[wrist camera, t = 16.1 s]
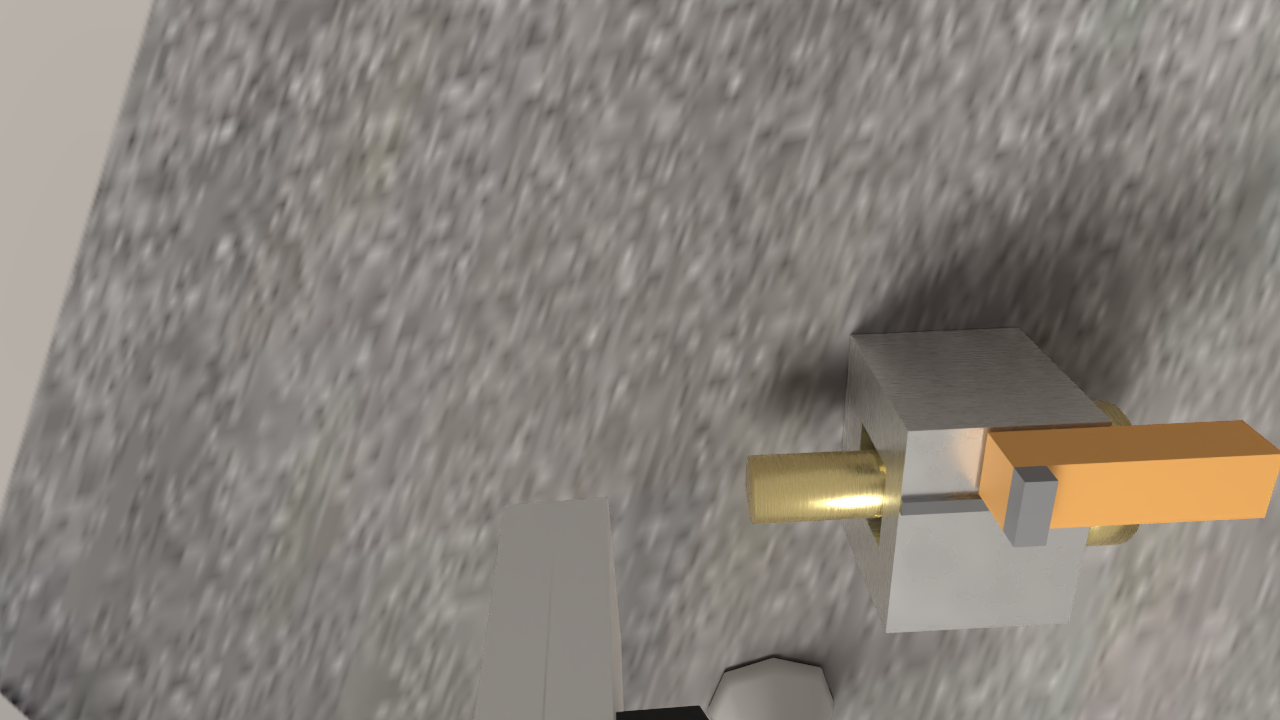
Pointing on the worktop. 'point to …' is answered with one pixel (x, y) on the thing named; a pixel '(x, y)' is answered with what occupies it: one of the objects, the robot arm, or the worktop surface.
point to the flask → (773, 693)
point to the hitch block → (956, 477)
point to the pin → (852, 487)
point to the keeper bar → (1125, 476)
